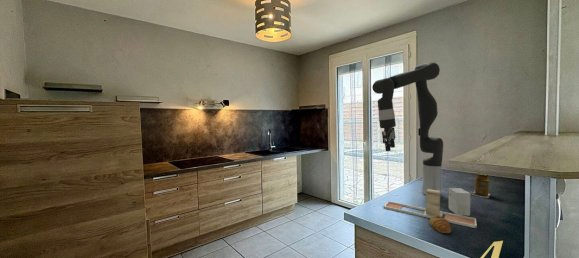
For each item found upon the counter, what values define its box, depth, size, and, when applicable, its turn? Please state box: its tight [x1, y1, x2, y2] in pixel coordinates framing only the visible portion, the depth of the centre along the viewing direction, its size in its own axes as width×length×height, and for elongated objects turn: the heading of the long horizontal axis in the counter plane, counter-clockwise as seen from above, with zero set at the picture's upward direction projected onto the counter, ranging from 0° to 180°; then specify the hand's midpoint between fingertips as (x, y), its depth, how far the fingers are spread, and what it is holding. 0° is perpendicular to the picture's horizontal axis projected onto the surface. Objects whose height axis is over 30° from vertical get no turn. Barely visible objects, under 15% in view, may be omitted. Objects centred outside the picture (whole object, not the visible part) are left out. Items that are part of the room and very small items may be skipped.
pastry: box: [429, 216, 452, 234], centre depth 93 cm, size 9×7×4 cm
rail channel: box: [383, 200, 478, 229], centre depth 107 cm, size 9×36×1 cm, turn 53°
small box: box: [448, 187, 471, 217], centre depth 108 cm, size 8×6×10 cm
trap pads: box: [387, 203, 475, 225], centre depth 107 cm, size 7×35×1 cm, turn 53°
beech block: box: [425, 189, 441, 216], centre depth 105 cm, size 5×5×11 cm
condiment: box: [471, 172, 491, 199], centre depth 132 cm, size 7×8×12 cm
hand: (390, 149), depth 118 cm, fingers open, 8 cm apart
